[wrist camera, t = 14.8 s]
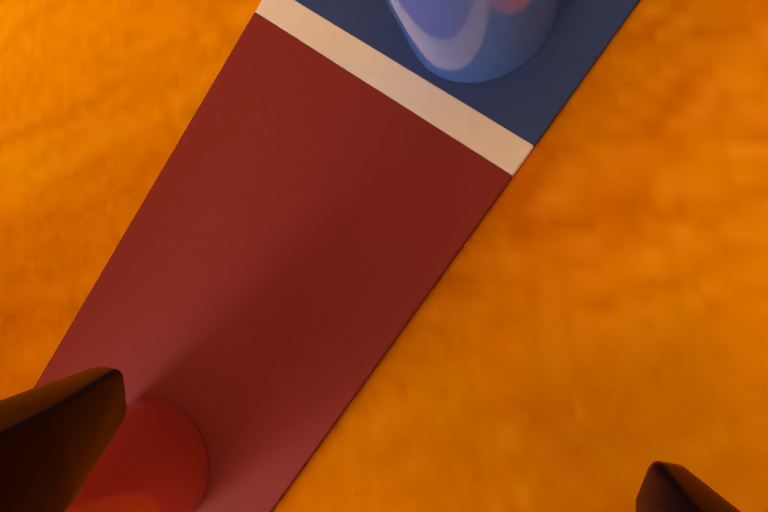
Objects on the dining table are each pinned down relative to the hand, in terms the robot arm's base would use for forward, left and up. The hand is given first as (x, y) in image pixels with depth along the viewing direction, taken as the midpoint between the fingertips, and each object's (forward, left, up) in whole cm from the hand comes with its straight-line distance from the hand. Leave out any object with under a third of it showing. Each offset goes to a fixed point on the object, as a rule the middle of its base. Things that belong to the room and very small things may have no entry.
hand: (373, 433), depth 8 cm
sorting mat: (+10, +1, -12) cm, 15 cm away
